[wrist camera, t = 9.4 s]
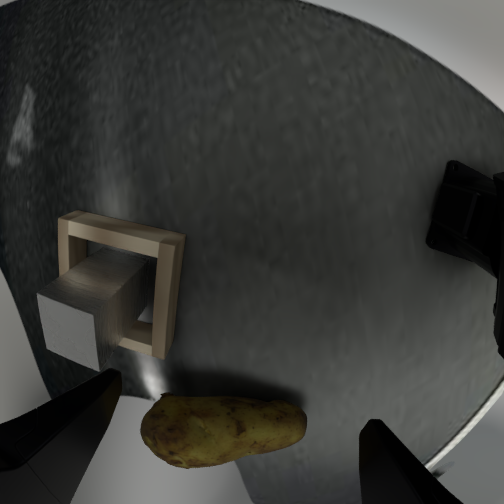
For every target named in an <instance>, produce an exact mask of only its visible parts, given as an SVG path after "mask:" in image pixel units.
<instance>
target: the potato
mask: <svg viewBox="0 0 504 504" xmlns="http://www.w3.org/2000/svg"><path fill="white" fill-rule="evenodd" d="M170 393H171V392H168V393H163V394H160V395H162V397H161V398H160V400H158V401H157V402H156V403H154V405H153V407H152V408H151V409H150V410H149V411H148V412H147V413H146V414H145V416H144V418H143V420H142V423H141V429H140V430H141V431H140V432H141V436H142V439H143V441H144V443H145V445H147V446H148V447H149V448H150V450H151V451H152V452H153V453H154V454H155V455H156V456H157V457H159V458H160V459H162V460H164V461H166V462H167V463H168V464H170V465H173V466H176V467H181V468H186V469H189V468H200V467H210V466H216V465H221V464H224V463H227V462H230V461H234V460H236V459H239V458H241V457H244V456H247V455H255V454H263V453H268V452H272V451H276V450H279V449H283V448H286V447H289V446H291V445H293V444H294V443H296V442H298V441H300V440H301V439H302V438H303V437H304V435H305V432H306V428H307V416H306V414H305V412H304V411H303V410H302V409H301V408H299V407H298V406H296V405H294V404H292V403H290V402H287V401H285V400H273V401H270V402H264V401H261V400H258V399H253V398H247V397H236V396H211V397H184V396H175V395H173V394H170Z"/></svg>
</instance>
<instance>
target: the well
mask: <svg viewBox="0 0 504 504" xmlns="http://www.w3.org/2000/svg"><path fill="white" fill-rule="evenodd" d="M185 239H186V234H181V233H177V232H173V231H168V230H164V229H159V228H155V227H150V226H146V225H141V224H137V223H133V222H128V221H124V220H119V219H115V218H110V217H106V216H101V215H97V214H92V213H88V212H84V211H79V210H77V211H74V212H72V213H69V214H67V215H64V216H62V217H60V218H58V251H59V272H60V276H61V275H63V274H64V273H65V272H67V271H68V270H70V269H71V268H73V267H74V266H76V265H77V264H78V263H80V262H81V261H83V260H84V259H86V258H87V240H90V241H94V242H98V243H102V244H106V245H109V246H113V247H117V248H121V249H125V250H129V251H133V252H136V253H140V254H144V255H148V256H152V257H156V258H158V260H157V271H156V282H155V295H154V310H153V325H151V324H148V323H144V322H141V321H138V320H136V321H135V323H134V324H133V325H132V327H131V328H130V330H129V331H128V332H127V334H126V335H125V336H124V338H123V339H122V341H121V342H120V343H119V346H122V347H125V348H128V349H131V350H134V351H137V352H140V353H143V354H147V355H150V356H153V357H156V358H160V359H163V360H164V359H165V357H166V355H167V353H168V351H169V349H170V347H171V345H172V343H173V340H174V329H175V319H176V309H177V300H178V292H179V283H180V275H181V268H182V260H183V253H184V246H185Z"/></svg>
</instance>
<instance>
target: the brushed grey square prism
mask: <svg viewBox="0 0 504 504" xmlns="http://www.w3.org/2000/svg"><path fill="white" fill-rule="evenodd" d="M149 261H150V259H148V258H144V257H140V256H136V255H132V254H128V253H124V252H120V251H116V250H112V249H108V248H104V247H102V248H101V249H99V250H98V251H96V252H95V253H93V254H92V255H90V256H89V257H87V258H86V259H84V260H83V261H81V262H80V263H78V264H77V265H76V266H74V267H73V268H71V269H70V270H68V271H67V272H65V273H64V274H63V275H61V276H60V277H58V278H57V279H56V280H54V281H53V282H51V283H50V284H49V285H47V286H46V287H45V288H43V289H42V290H41V291H39V292H38V293H37V298H38V305H39V311H40V317H41V322H42V327H43V332H44V337H45V342H46V346H47V349H49V350H51V351H53V352H55V353H57V354H59V355H61V356H64V357H66V358H68V359H70V360H72V361H75V362H77V363H79V364H82V365H84V366H87V367H89V368H91V369H94V370H96V371H99V372H100V370H101V369H102V368H103V366H104V365H105V363H106V362H107V360H108V359H109V358H110V356H111V355H112V353H113V352H114V350H115V349H116V348H117V346H118V345H119V343H120V342H121V341H122V339H123V338H124V336H125V335H126V334H127V332H128V331H129V330H130V328H131V327H132V325H133V324H134V323H135V321H136V320H137V319H138V317H139V316H140V315H141V313H142V312H143V311H144V309H145V308H146V307H147V291H148V275H149Z"/></svg>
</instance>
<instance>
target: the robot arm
mask: <svg viewBox="0 0 504 504" xmlns="http://www.w3.org/2000/svg"><path fill="white" fill-rule="evenodd" d="M453 165H455V170H453ZM493 179H494V180H492V179H490V178H489V177H487V176H485V175H483V174H481V173H480V172H478V171H476V170H474V169H472V168H470V167H468V166H466V165H464V164H462V163H460V162H458V161H455V160H451V161H449V162H448V165H447V169H446V173H445V178H444V182H443V184H442V186H441V189H440V193H439V196H438V200H437V204H436V207H435V210H434V214H433V217H432V218H433V220H432V224H431V227H430V230H429V233H428V236H427V239H426V244H427V245H428V246H429V247H430V248H432V249H435V250H438V251H441V252H444V253H447V254H450V255H453V256H457V257H460V258H463V259H466V260H469V261H472V262H474V263H476V264H477V265H478V266H480V267H481V268H483V269H484V270H485V271H487V272H488V273H490V274H491V275H492V276H494V277H495V278H496V279H497V291H496V301H495V304H494V307H493V313H494V316H495V321H494V336H495V339H496V342H497V345H498V353H499V354H500V355H501V356H502V358H503V359H504V172H501V173H497V174H494V175H493ZM433 239H435V241H434V243H431V242H432V240H433ZM121 392H122V377H121V372H120V371H118V370H116V369H113V368H108V369H106V370H105V371H103V372H101V373H99V374H98V375H96V376H94V377H92V378H90V379H89V380H87V381H85V382H83V383H81V384H80V385H78V386H76V387H74V388H72V389H70V390H69V391H67V392H65V393H63V394H61V395H59V396H58V397H56V398H54V399H52V400H50V401H48V402H47V403H45V404H43V405H41V406H39V407H37V409H36V408H35V409H34V410H32V411H29V412H28V413H25V414H23V415H21V416H19V417H17V418H15V419H12V420H10V421H7V422H4V423H2V424H0V504H70V503H71V500H72V498H73V496H74V494H75V492H76V490H77V488H78V486H79V484H80V482H81V480H82V477H83V476H84V474H85V472H86V470H87V468H88V465H89V464H90V461H91V459H92V458H93V456H94V454H95V451H96V449H97V448H98V446H99V444H100V442H101V440H102V438H103V436H104V434H105V432H106V430H107V428H108V426H109V424H110V421H111V419H112V416H113V413H114V410H115V408H116V405H117V402H118V400H119V397H120V395H121ZM359 475H360V486H361V497H362V504H463V503H462V502H461V501H460V500H459V499H457V498H456V497H455V496H454V495H453V494H451V493H450V492H449V491H448V490H447V489H446V488H445V487H444V486H443V485H442V484H441V483H440V482H439V481H438V480H437V479H436V478H435V477H433V475H432V474H431V473H430V472H429V471H428V470H427V469H426V467H425V466H424V465H423V464H422V463H421V462H420V461H419V460H418V459H417V458H416V457H415V456H414V455H413V454H412V453H411V451H410V450H409V449H408V448H407V447H406V446H405V445H404V444H403V443H402V442H401V441H400V440H399V439H398V438H397V436H396V435H395V434H394V433H393V432H392V431H391V430H390V429H389V428H388V427H387V426H386V425H385V423H384V422H383V421H382V420H380V419H370V420H369V421H368V422H367V424H366V425H365V426H364V428H363V429H362V430H361V432H360V435H359Z"/></svg>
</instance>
